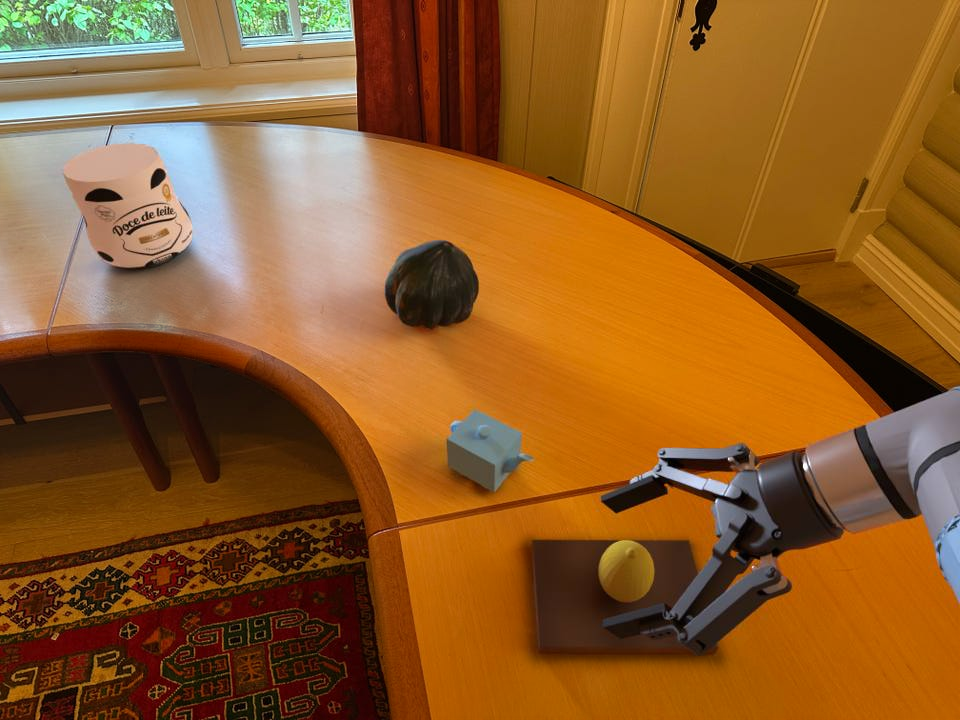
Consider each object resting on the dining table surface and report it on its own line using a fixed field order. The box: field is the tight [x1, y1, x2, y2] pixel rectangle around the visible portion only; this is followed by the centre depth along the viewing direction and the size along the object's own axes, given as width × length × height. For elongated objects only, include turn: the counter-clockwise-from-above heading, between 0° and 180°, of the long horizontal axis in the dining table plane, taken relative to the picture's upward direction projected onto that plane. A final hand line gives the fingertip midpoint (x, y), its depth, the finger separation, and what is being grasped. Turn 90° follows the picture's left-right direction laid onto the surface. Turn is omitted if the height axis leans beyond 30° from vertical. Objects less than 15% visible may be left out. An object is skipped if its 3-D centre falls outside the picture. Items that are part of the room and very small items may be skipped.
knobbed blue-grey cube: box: [445, 408, 534, 493], centre depth 76 cm, size 12×6×8 cm, turn 56°
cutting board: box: [531, 539, 719, 655], centre depth 65 cm, size 18×12×2 cm, turn 90°
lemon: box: [598, 539, 654, 602], centre depth 62 cm, size 6×6×8 cm
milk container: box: [62, 142, 194, 270], centre depth 110 cm, size 17×17×18 cm
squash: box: [384, 239, 480, 330], centre depth 97 cm, size 14×15×15 cm
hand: (609, 562), depth 61 cm, fingers open, 13 cm apart
